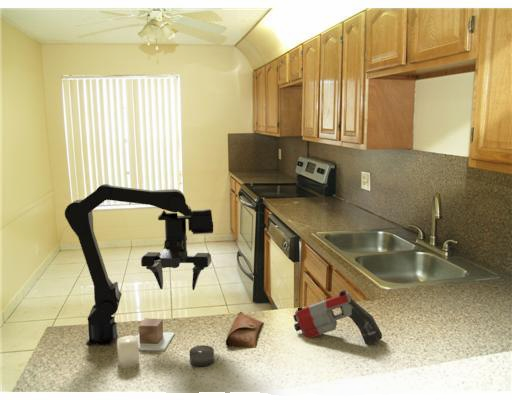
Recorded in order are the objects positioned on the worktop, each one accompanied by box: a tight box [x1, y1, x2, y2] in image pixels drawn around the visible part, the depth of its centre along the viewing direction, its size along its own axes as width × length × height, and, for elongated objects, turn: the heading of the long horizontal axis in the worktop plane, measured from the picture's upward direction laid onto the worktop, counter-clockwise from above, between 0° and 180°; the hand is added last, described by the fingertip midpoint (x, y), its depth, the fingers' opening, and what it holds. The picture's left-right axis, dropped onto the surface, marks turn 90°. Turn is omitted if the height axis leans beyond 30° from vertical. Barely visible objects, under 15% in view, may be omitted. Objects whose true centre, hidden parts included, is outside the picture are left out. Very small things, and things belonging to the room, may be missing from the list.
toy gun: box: [293, 289, 383, 345], centre depth 124 cm, size 5×22×15 cm, turn 74°
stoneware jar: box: [116, 335, 140, 369], centre depth 110 cm, size 5×5×6 cm
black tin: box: [189, 344, 215, 369], centre depth 111 cm, size 6×6×3 cm
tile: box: [135, 331, 176, 352], centre depth 122 cm, size 10×10×1 cm
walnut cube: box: [138, 318, 164, 344], centre depth 122 cm, size 5×5×5 cm
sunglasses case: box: [225, 311, 264, 349], centre depth 127 cm, size 18×7×7 cm
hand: (177, 289), depth 126 cm, fingers open, 9 cm apart
